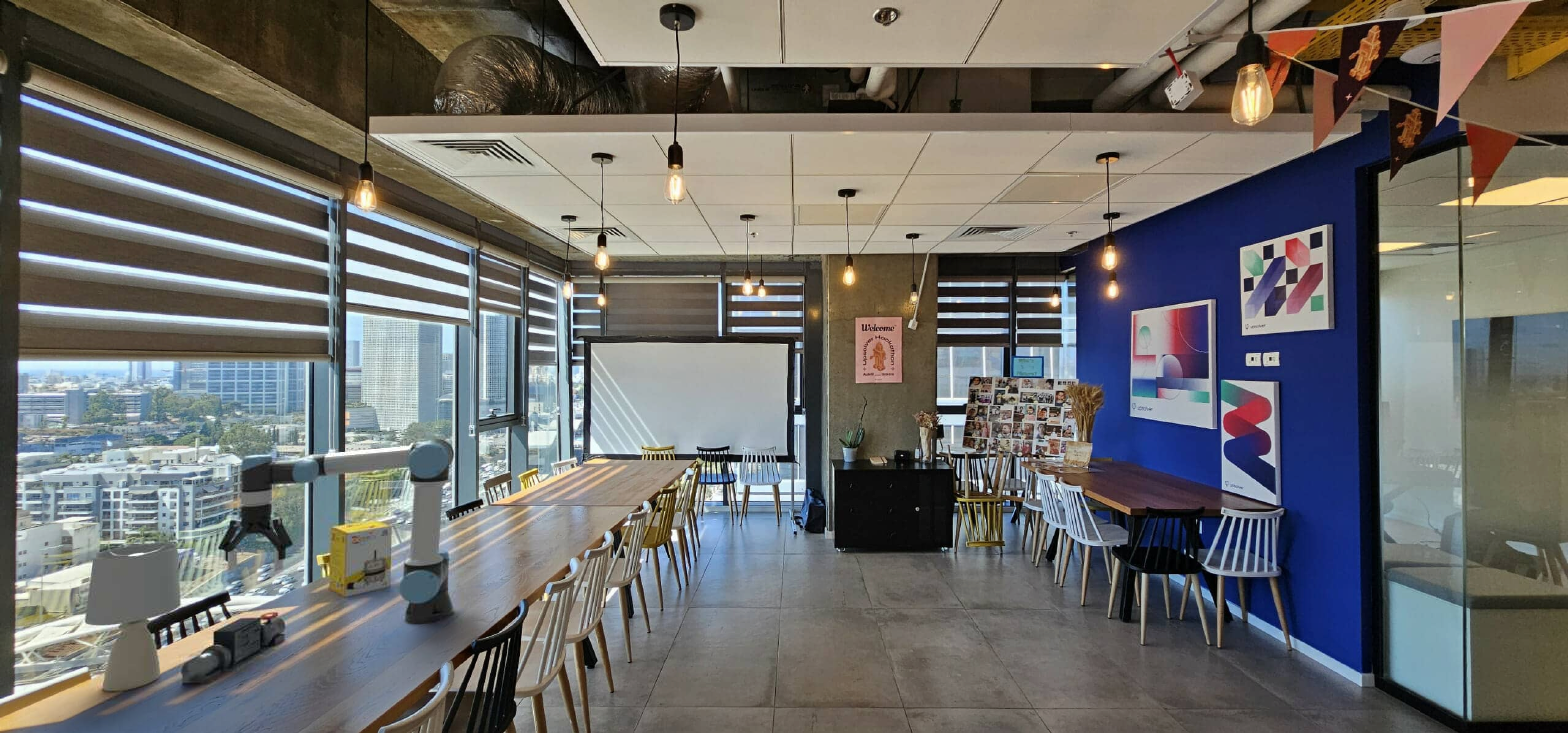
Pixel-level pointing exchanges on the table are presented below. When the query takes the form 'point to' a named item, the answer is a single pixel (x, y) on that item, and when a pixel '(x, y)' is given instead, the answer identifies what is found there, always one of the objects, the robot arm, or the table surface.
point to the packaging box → (360, 557)
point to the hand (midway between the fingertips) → (255, 570)
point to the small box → (240, 638)
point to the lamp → (133, 607)
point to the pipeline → (220, 656)
